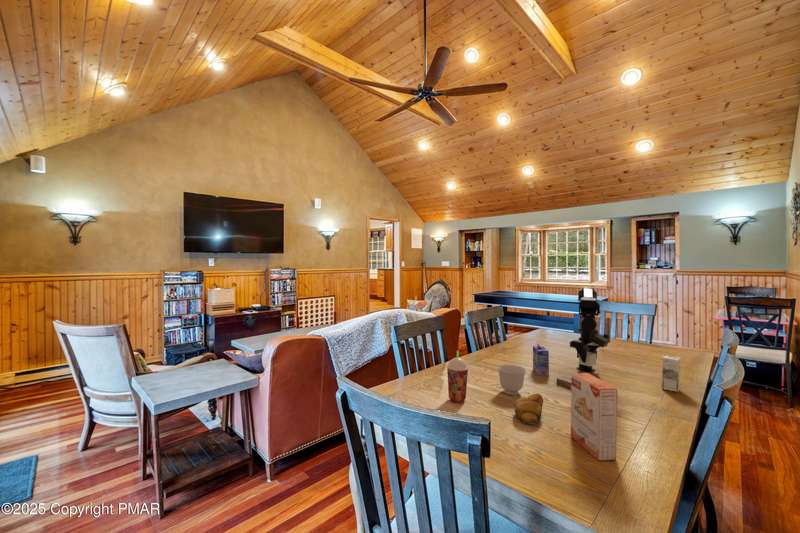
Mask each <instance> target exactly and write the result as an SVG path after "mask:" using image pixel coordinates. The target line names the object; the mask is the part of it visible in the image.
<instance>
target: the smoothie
mask: <svg viewBox="0 0 800 533" xmlns="http://www.w3.org/2000/svg"><path fill="white" fill-rule="evenodd" d="M459 355H460V354H459V350H456V357H454V358H452V359H451V360H449V361H448V362H449V363H448V364H447V365H446V368H447V370H446V371H447V388H448V398H449V401H450V402H451V403H454V404H463V403H465V400H466V399H467V388H468V375H469V372H468V371H469V366H468V365H467V363H466V360H464V359H463V358H460V357H459Z"/></svg>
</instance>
